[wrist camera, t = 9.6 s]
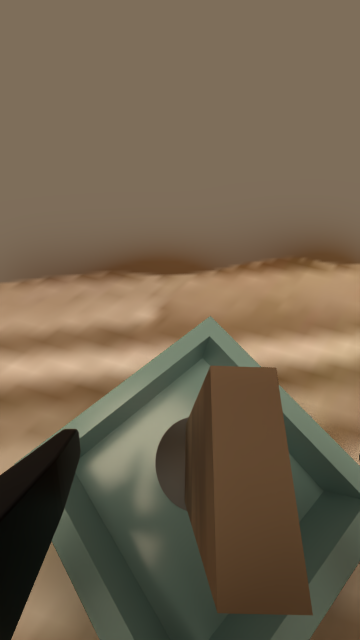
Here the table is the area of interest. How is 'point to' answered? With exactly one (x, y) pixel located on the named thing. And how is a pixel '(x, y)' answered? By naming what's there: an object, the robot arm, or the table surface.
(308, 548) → the green square tray
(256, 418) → the brown tower block
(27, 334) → the table surface
